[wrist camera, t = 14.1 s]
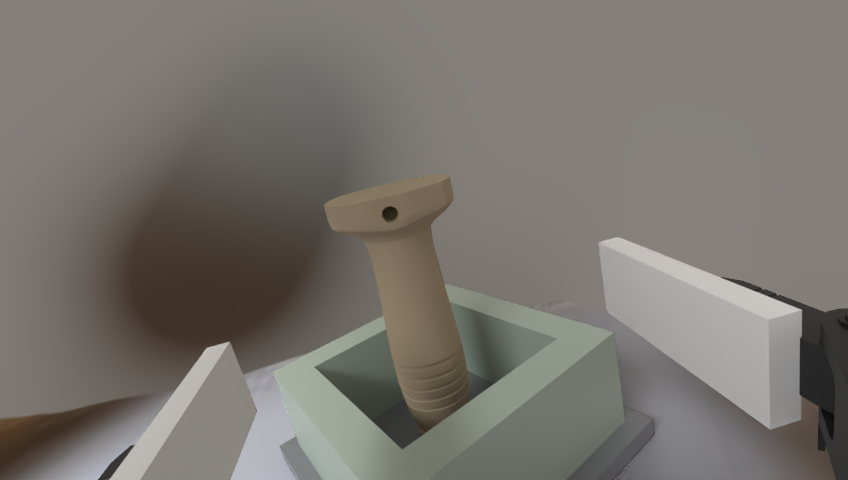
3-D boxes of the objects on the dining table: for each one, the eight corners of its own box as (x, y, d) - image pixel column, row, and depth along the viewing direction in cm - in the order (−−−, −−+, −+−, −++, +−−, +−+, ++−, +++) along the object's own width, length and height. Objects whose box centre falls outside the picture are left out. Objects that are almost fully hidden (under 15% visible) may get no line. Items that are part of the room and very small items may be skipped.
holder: (284, 458, 28) (252, 374, 26) (464, 346, 36) (448, 276, 35) (421, 690, 15) (374, 553, 13) (654, 433, 23) (643, 328, 22)
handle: (511, 451, 23) (455, 180, 19) (395, 479, 23) (315, 213, 19) (491, 397, 28) (443, 170, 24) (395, 420, 28) (331, 196, 24)
